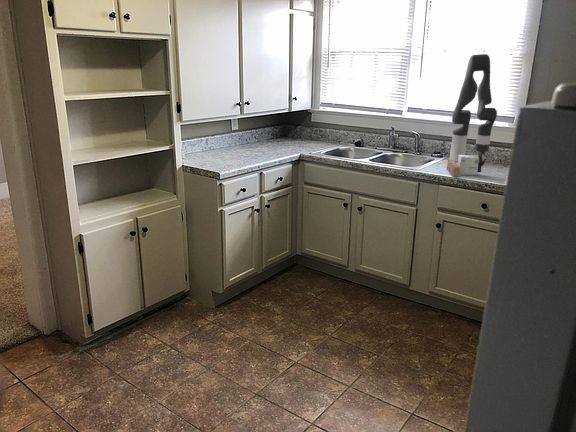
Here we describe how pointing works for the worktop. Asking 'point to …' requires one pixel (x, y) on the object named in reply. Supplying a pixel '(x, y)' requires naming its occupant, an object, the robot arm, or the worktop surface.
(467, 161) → the light bulb box
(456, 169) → the orange brown stepped block
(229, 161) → the worktop surface
